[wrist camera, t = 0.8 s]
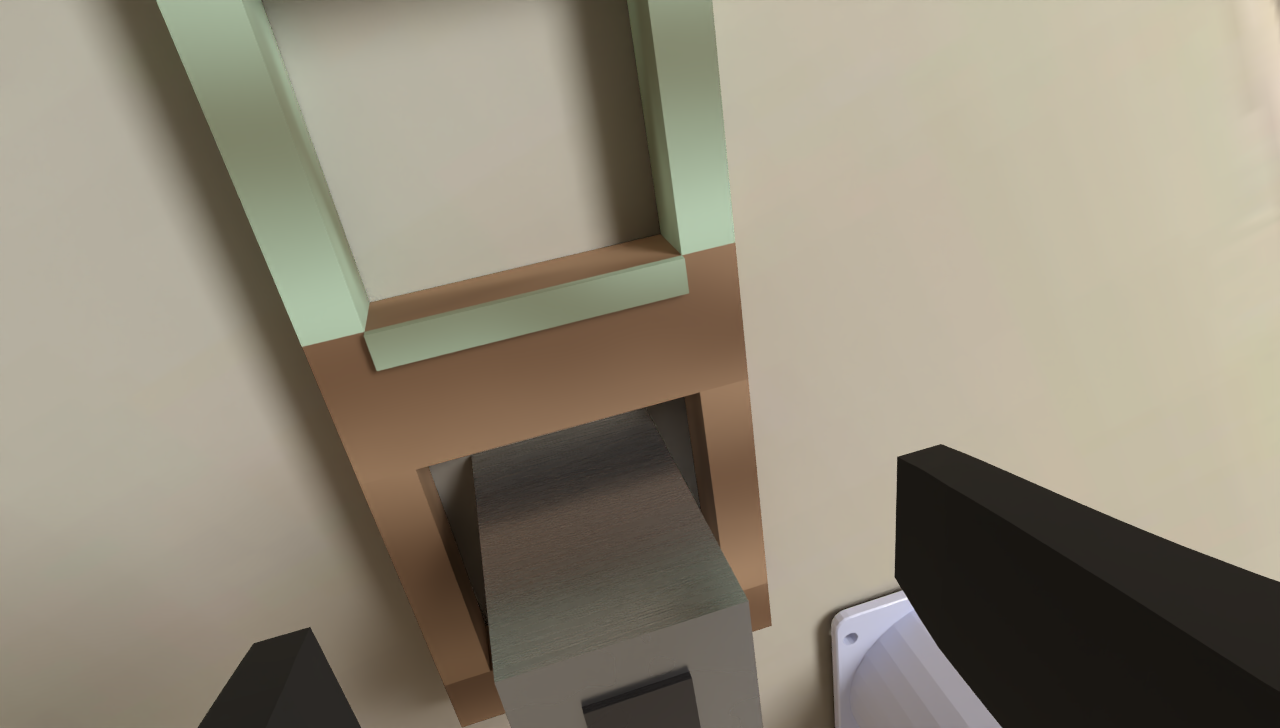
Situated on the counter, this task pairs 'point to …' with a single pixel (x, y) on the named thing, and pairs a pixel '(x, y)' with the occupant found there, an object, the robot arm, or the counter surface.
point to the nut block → (609, 586)
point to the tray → (501, 317)
